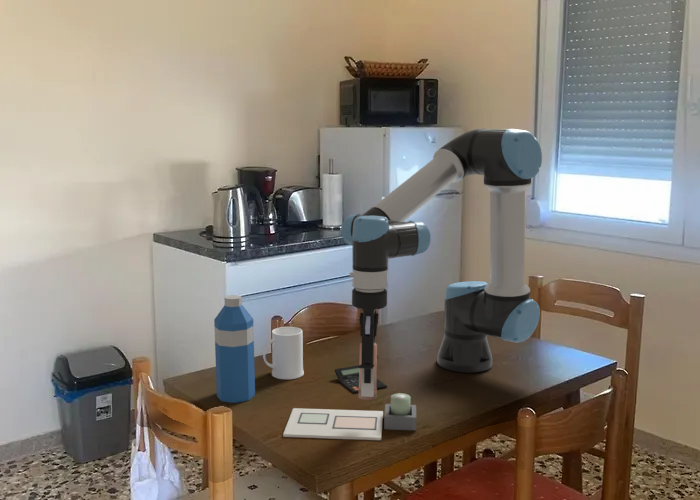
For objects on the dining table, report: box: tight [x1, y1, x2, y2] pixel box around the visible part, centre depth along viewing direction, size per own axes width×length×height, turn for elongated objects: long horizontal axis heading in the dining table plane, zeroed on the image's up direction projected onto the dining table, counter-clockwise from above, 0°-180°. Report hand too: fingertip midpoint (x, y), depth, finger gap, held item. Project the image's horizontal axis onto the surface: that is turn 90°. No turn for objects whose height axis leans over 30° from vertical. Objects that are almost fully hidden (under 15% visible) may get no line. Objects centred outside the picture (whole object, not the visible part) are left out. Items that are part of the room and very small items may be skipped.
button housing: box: [383, 403, 417, 431], centre depth 160 cm, size 7×7×3 cm
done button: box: [390, 392, 412, 415], centre depth 160 cm, size 4×4×4 cm
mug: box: [262, 326, 305, 381], centre depth 189 cm, size 12×8×12 cm
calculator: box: [334, 364, 388, 394], centre depth 185 cm, size 9×12×3 cm
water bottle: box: [213, 294, 256, 404], centre depth 174 cm, size 9×9×25 cm
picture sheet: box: [282, 407, 384, 441], centre depth 160 cm, size 21×14×1 cm, turn 86°
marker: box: [358, 342, 378, 401], centre depth 157 cm, size 4×4×13 cm
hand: (367, 391), depth 157 cm, fingers closed on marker, 4 cm apart
